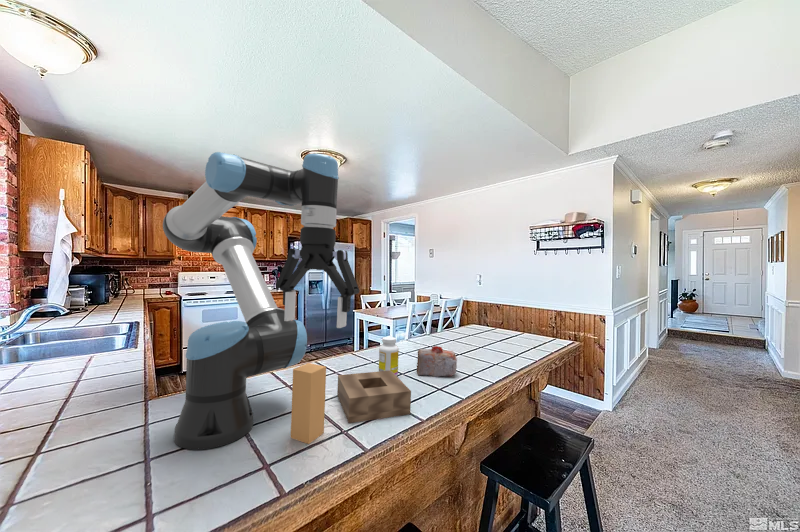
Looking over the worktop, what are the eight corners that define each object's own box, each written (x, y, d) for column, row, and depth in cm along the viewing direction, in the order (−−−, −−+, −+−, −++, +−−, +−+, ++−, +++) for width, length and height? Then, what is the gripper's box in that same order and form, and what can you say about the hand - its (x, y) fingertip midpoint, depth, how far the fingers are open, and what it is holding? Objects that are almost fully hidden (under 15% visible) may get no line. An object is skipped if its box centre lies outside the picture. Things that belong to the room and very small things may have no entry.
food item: (453, 371, 116) (454, 344, 116) (457, 379, 109) (458, 350, 108) (416, 369, 116) (417, 342, 116) (417, 377, 108) (418, 348, 108)
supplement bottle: (398, 372, 112) (400, 336, 112) (396, 379, 105) (398, 341, 105) (379, 371, 113) (381, 335, 113) (376, 378, 106) (378, 339, 106)
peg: (290, 437, 69) (293, 369, 69) (306, 427, 74) (308, 362, 73) (308, 444, 67) (311, 373, 67) (323, 432, 72) (326, 366, 71)
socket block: (348, 423, 76) (349, 398, 76) (337, 395, 91) (338, 375, 91) (410, 414, 82) (411, 391, 82) (390, 389, 97) (390, 370, 97)
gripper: (261, 225, 71) (257, 320, 71) (361, 225, 62) (356, 333, 63) (284, 228, 78) (281, 315, 78) (377, 229, 69) (373, 326, 70)
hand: (314, 323), depth 71 cm, fingers open, 13 cm apart
